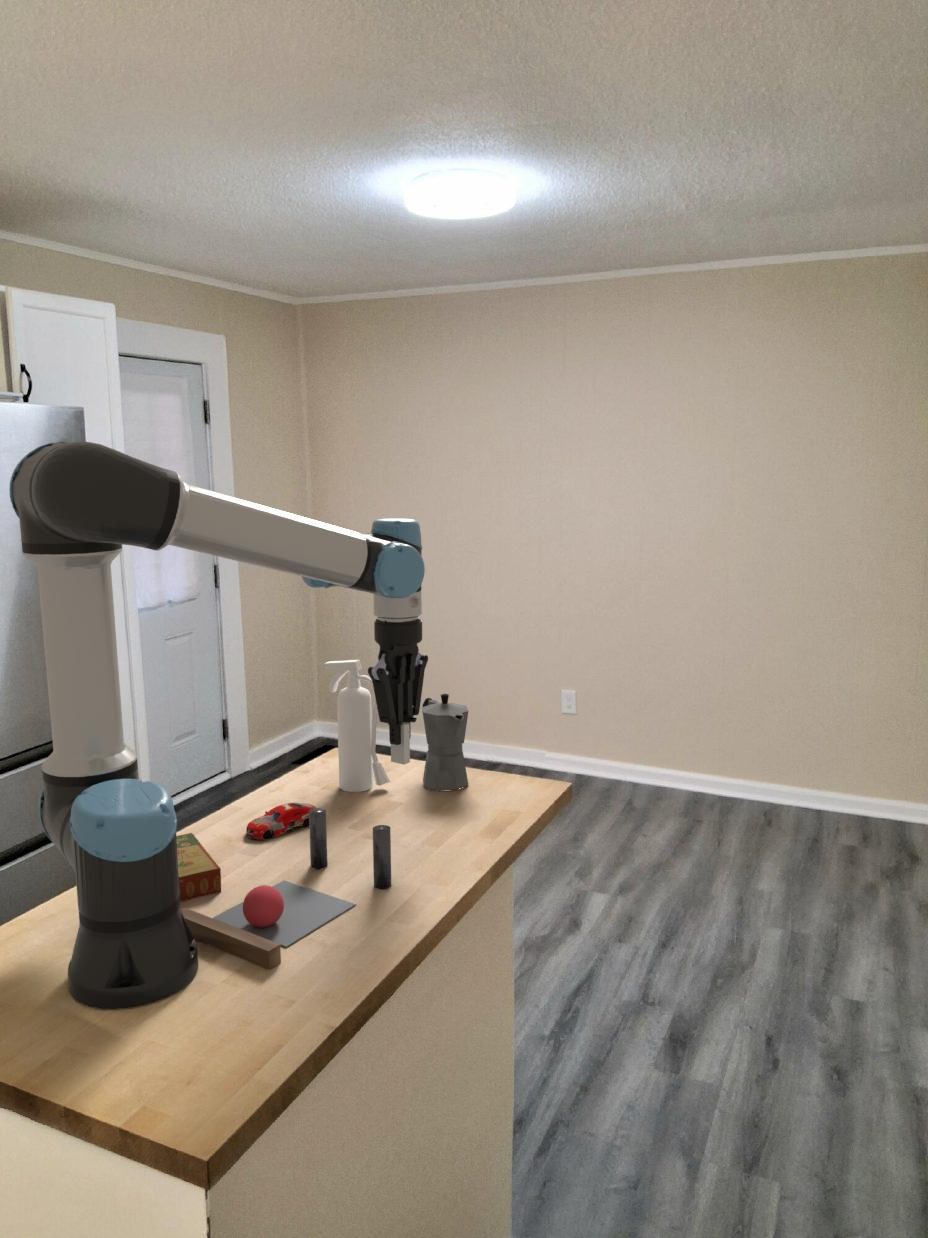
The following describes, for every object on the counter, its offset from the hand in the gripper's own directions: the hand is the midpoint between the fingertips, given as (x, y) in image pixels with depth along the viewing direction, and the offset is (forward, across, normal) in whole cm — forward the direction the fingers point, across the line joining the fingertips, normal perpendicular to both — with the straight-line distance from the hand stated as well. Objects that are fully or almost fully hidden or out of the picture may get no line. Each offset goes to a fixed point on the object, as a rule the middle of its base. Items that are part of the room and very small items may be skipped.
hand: (400, 761), depth 152 cm
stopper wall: (+14, -38, 0) cm, 41 cm away
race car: (+15, -5, +22) cm, 27 cm away
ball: (+12, -31, 0) cm, 33 cm away
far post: (+14, -13, +6) cm, 20 cm away
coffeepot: (+15, +29, +12) cm, 35 cm away
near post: (+14, -13, -6) cm, 20 cm away
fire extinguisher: (+15, +18, +24) cm, 33 cm away
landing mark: (+14, -27, 0) cm, 31 cm away
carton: (+15, -28, +21) cm, 38 cm away
